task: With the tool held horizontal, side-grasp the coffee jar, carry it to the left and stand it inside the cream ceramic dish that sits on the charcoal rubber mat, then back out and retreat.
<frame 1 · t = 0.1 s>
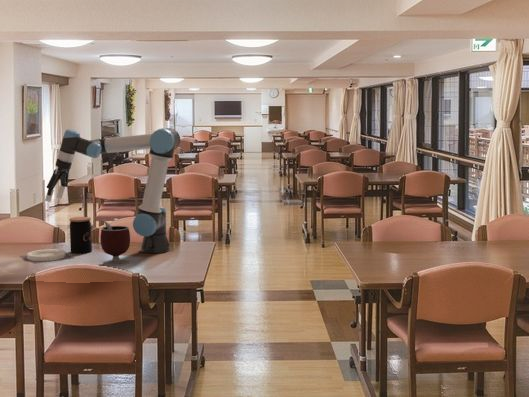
hand: (53, 199, 372), 28 cm above the table, tool tilted 20°, fingers open, 13 cm apart
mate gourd: (115, 263, 353), on the table
mat: (46, 258, 364), on the table
dish: (46, 257, 364), resting on mat
coffee jar: (81, 253, 377), on the table
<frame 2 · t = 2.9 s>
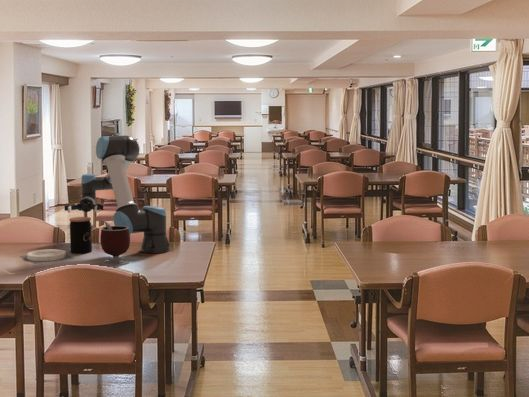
hand: (82, 210, 384), 21 cm above the table, tool horizontal, fingers open, 13 cm apart
nothing on the table moved.
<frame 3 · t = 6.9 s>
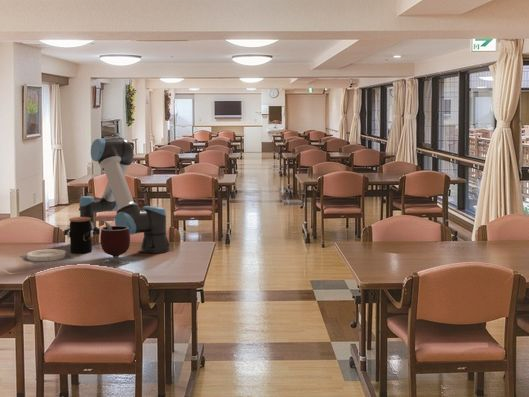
hand: (79, 234, 373), 10 cm above the table, tool horizontal, fingers closed on coffee jar, 11 cm apart
coffee jar: (81, 253, 377), on the table, touching gripper
everything else where it was.
when the fingers open (13 cm above the table, at t = 11.4 s): coffee jar drops 2 cm, resting on dish.
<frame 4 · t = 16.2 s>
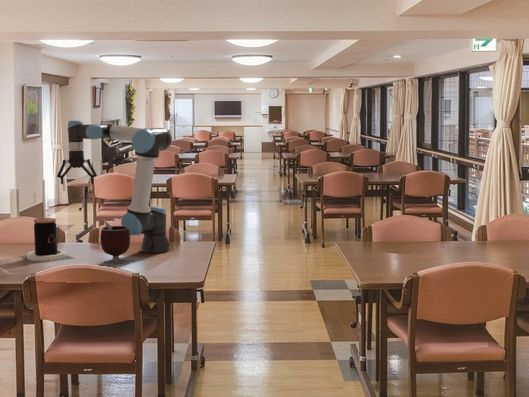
hand: (77, 190, 387), 31 cm above the table, tool pointing down, fingers open, 13 cm apart
coffee jar: (46, 255, 364), point 1 cm above the table, touching dish
everything else where it was.
at the end: coffee jar 0.1 cm from the dish (horizontally); coffee jar tilted 0°; the gripper is holding nothing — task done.
